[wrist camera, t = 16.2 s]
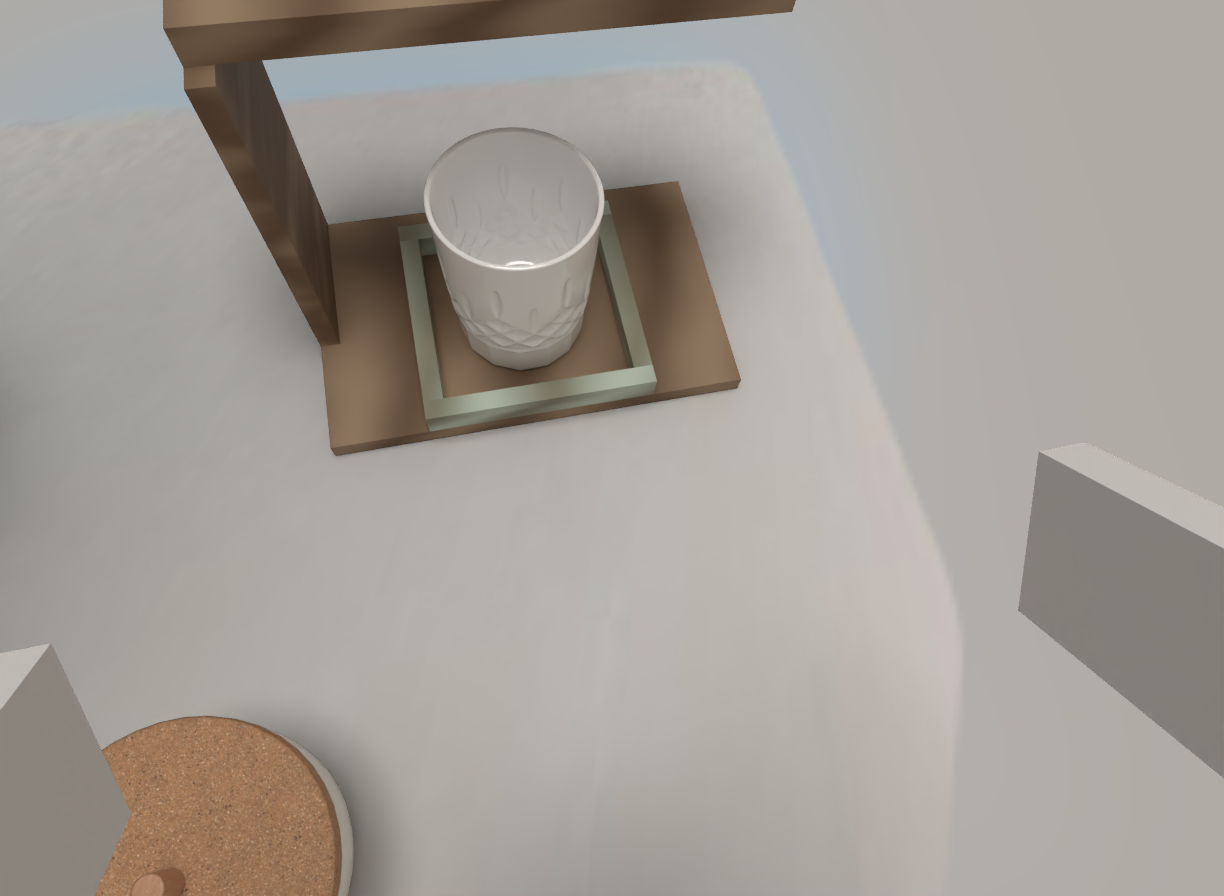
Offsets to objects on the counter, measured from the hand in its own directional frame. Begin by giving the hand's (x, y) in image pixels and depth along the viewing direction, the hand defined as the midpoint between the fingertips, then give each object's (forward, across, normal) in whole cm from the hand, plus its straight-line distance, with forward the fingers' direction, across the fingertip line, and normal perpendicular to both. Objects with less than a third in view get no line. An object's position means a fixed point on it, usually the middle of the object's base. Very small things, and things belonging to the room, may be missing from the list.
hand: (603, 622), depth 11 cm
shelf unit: (+36, +2, -4) cm, 36 cm away
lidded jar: (+18, -14, -21) cm, 31 cm away
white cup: (+34, +2, -4) cm, 35 cm away
